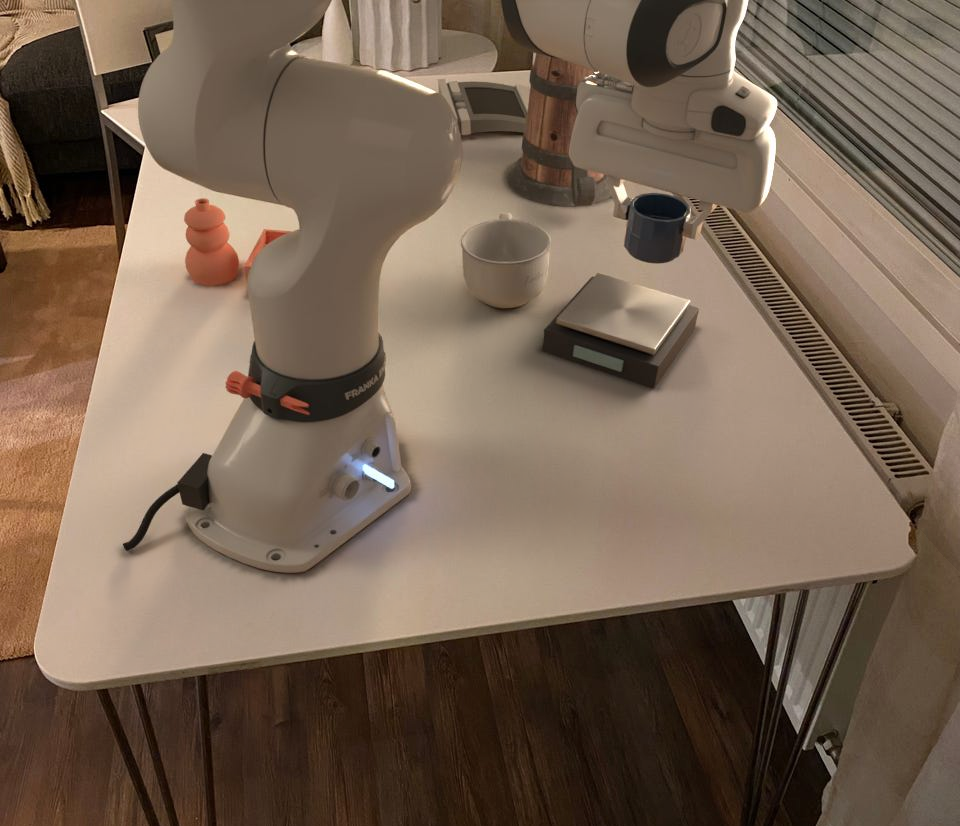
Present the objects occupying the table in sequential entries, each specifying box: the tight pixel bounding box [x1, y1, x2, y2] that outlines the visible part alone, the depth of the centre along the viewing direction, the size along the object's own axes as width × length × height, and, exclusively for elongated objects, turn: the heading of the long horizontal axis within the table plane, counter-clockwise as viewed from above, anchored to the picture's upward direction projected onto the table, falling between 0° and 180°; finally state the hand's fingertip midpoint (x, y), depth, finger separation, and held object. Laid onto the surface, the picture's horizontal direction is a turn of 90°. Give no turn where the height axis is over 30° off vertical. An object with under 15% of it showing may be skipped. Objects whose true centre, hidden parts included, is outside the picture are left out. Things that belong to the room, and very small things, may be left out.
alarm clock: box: [437, 78, 530, 136], centre depth 162 cm, size 17×5×16 cm
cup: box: [623, 192, 692, 265], centre depth 101 cm, size 6×6×5 cm
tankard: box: [505, 53, 612, 207], centre depth 137 cm, size 24×17×20 cm
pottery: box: [183, 197, 293, 298], centre depth 119 cm, size 18×10×10 cm, turn 85°
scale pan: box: [556, 272, 691, 355], centre depth 113 cm, size 12×12×1 cm
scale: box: [541, 276, 700, 389], centre depth 114 cm, size 14×14×3 cm
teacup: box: [460, 212, 552, 309], centre depth 120 cm, size 14×11×8 cm
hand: (656, 226), depth 100 cm, fingers closed on cup, 6 cm apart
